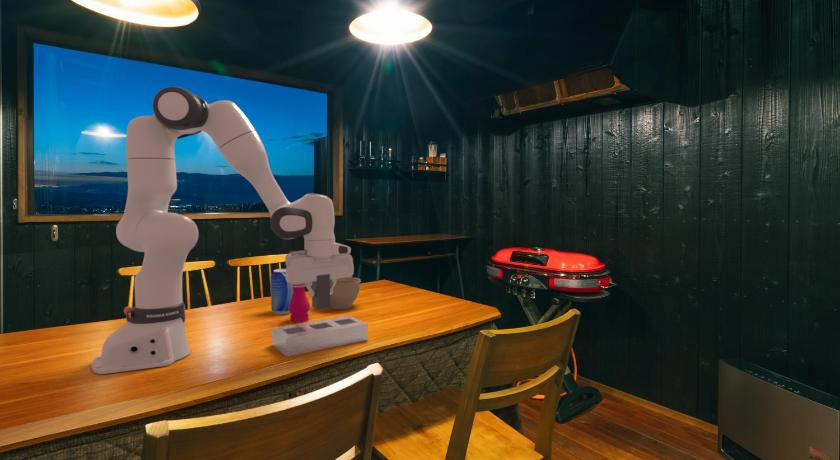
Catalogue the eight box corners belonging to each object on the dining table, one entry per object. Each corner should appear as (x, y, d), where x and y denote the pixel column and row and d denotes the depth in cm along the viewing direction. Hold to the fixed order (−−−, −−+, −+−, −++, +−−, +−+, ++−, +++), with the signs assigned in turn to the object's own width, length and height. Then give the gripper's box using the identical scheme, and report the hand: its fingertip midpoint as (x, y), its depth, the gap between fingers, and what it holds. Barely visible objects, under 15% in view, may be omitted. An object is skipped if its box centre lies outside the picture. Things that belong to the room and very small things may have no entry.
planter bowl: (357, 312, 171) (357, 283, 170) (314, 312, 171) (314, 283, 170) (363, 302, 187) (363, 276, 186) (324, 302, 187) (323, 276, 186)
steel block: (317, 309, 132) (316, 275, 131) (312, 306, 135) (311, 273, 134) (330, 307, 134) (329, 274, 133) (324, 304, 137) (324, 272, 136)
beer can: (299, 311, 172) (298, 269, 171) (282, 316, 165) (281, 272, 164) (284, 308, 176) (283, 267, 175) (266, 313, 169) (265, 270, 168)
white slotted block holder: (286, 356, 123) (286, 338, 122) (272, 344, 132) (272, 328, 132) (367, 340, 137) (367, 323, 137) (349, 330, 147) (349, 315, 147)
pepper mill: (304, 323, 156) (303, 265, 154) (285, 322, 157) (283, 264, 156) (313, 317, 163) (312, 262, 161) (294, 316, 164) (293, 262, 163)
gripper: (289, 253, 124) (290, 302, 125) (355, 247, 136) (356, 292, 137) (281, 250, 129) (282, 298, 130) (346, 245, 141) (347, 288, 142)
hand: (321, 295), depth 134 cm, fingers closed on steel block, 4 cm apart
